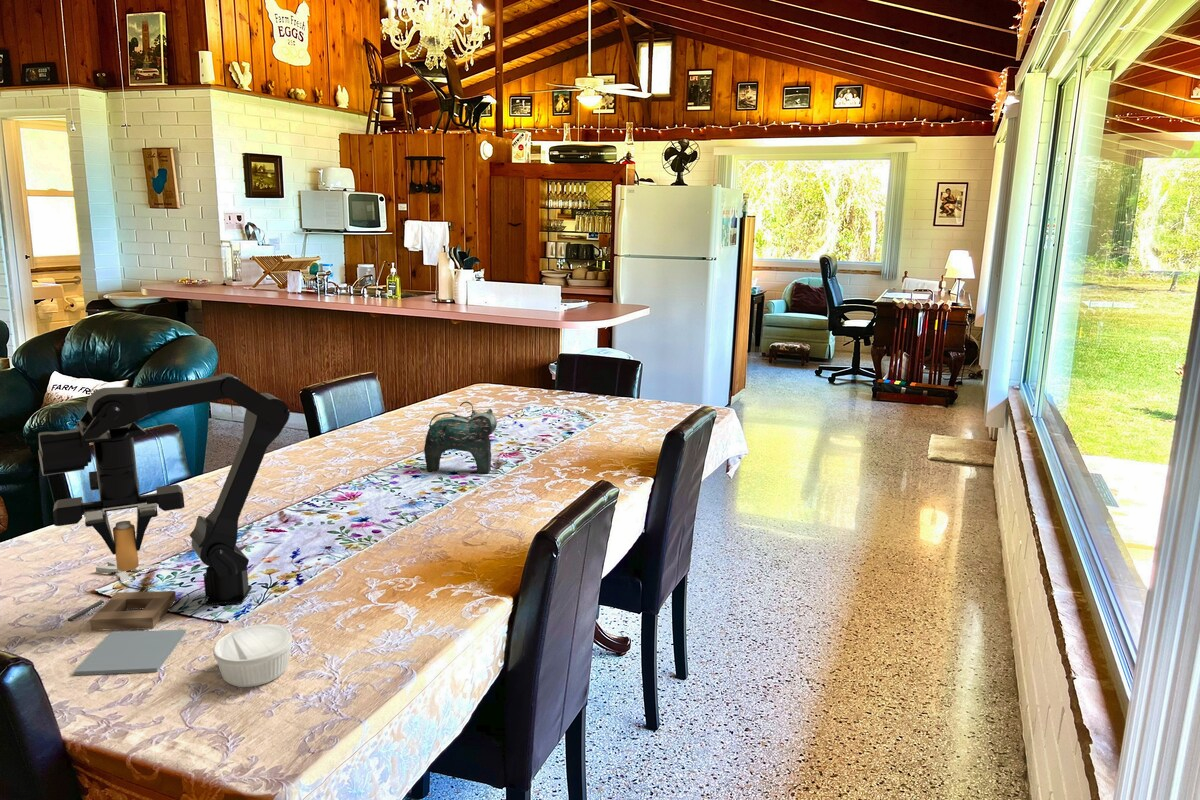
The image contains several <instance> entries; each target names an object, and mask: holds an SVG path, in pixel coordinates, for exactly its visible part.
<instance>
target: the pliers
mask: <svg viewBox="0 0 1200 800" xmlns="http://www.w3.org/2000/svg"><path fill="white" fill-rule="evenodd" d="M106 563H107V565H97V566H96V567H95V573H96V572H98V573H97V574H100V573H108V574H110V575H112V574H113V573H114V572H116V573H115V576H116V575H119V576H120V578H119V580H121V581H122V582H124V581H127V580H130V578H129V577H130V576H129V574H128V573H126V572H125V571H119V570H118V569H117V562H116V561H115V560H108V561H107V562H106ZM158 565H159V564H153V565H151V564H150V565H145V566H138V567H137V568H135V569H133V570H132V571H139V570H144V569H149V568H151V567H155V568H157V567H158ZM112 572H113V573H112ZM124 572H125V573H124ZM139 572H145V571H139ZM139 572H138V573H139ZM111 573H112V574H111ZM108 574H107V575H108ZM133 575H134V576H136V577H137V574H135V573H134V574H133ZM134 576H133V577H134ZM136 577H135V578H136ZM124 579H126V580H124ZM121 581H120V582H121ZM131 581H133V579H132V580H131ZM125 583H127V584H135V583H136V582H134V583H133V582H130V581H127V582H125ZM137 584H138V583H137ZM137 584H136V585H137Z"/></svg>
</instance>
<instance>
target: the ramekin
mask: <svg viewBox="0 0 1200 800" xmlns="http://www.w3.org/2000/svg"><path fill="white" fill-rule="evenodd" d="M292 644H293V634H292V632H291V631H290V630H289V629H288V628H287V627H285V626H282V625H279V624H272V623H271V624H270V623H269V624H267V623H266V624H265V623H264V624H263V623H262V624H254V625H253V624H252V625H249V626H245V627H242V628H238V629H236V630H233V631H231V632H229V633H227V634H226V635H224V636H222V637H221V638H220V639H219V640H217V642H216V643H215V644H214V647H213V651H212V652H213V653H212V654H213V656H214V659H215V660H216V662H217V666H218V668H219V671H220V674H221V677H222V679H223V680H224V681H225V682H226V683H228V684H230V685H231V686H234V687H239V688H249V687H250V688H251V687H256V686H261V685H264V684H267V683H270V682H273V681H274V680H276V679H277V678H279V677H280V676H281V675H282V674H283V673H284V672H285V671H286V669H287V667H288V666H289V662H290V656H291V649H292V647H291V646H292Z"/></svg>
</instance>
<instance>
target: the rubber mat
mask: <svg viewBox="0 0 1200 800" xmlns="http://www.w3.org/2000/svg"><path fill="white" fill-rule="evenodd" d="M186 633H187V629H167V630H166V629H165V630H164V629H162V630H161V629H160V630H159V629H158V630H139V631H137V630H134V631H111V632H109V633H108V634H107V636H105V637H104V638H103V640H102V641H101V642H100V643H98V645H97V646H96V647H95V648H94V649H93V650H92V652H91V653H90V654H89V655H88V656H87V657H86V658H85V659H84V660H83V662H81V664H80V665H79V666H78V667H76V669H75V670H74V671H73V674H74V676H85V675H86V676H89V675H106V674H107V675H109V674H111V675H112V674H132V673H134V674H135V673H152V672H153V673H156V672H159V670H160V668H161V667H162V665H164V663H165V661H166V660H167V659H168V658H169V656H170V655H171V654H172V652H173V651H174V649H175V648H176V647H177V645H178V644H179V643H180V641H181V640H182V639H183V638H184V636H185V634H186Z"/></svg>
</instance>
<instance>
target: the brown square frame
mask: <svg viewBox="0 0 1200 800" xmlns="http://www.w3.org/2000/svg"><path fill="white" fill-rule="evenodd" d="M176 596H177V595H176V590H160V591H159V590H158V591H134V592H133V591H130V592H125V591H124V592H116V593H115V594H114V595H113V596H112V597H111V598H110V599H108V601H107V602H105V603H104V605H103V606H102V607H101V608H100V609H99V610H98V611H97V612H96V613H95V614H94V615H93V616H92V617H91V618H90V619H89V623H90V631H104V630H103V629H117V630H137V628H139V629H140V628H144V629H154V628H155V627H156V626H157V625H158V624H159V622H160V621H161V620H162V618H164V617H165V615H166V614H167V612H169V610H170V609H171V608H170V606H171V605H172V604H173V602H174V601H175V600H176V601H177V597H176ZM173 605H174V604H173ZM173 605H172V606H173ZM172 606H171V607H172ZM140 608H141V609H140ZM142 608H144V609H142ZM169 608H170V609H169ZM168 609H169V610H168ZM156 624H157V625H156ZM139 629H138V630H139ZM140 630H141V629H140Z"/></svg>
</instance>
